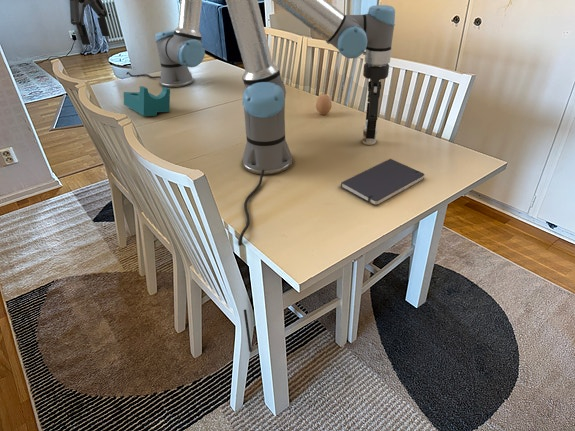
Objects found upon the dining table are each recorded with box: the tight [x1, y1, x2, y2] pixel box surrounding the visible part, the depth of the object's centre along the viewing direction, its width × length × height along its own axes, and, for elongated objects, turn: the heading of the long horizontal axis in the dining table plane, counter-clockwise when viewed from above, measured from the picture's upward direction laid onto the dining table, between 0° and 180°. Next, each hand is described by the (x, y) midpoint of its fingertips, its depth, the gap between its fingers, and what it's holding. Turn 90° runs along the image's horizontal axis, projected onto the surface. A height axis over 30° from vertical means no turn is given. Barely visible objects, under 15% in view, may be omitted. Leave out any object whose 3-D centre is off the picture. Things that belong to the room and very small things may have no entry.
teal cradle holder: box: [123, 85, 171, 117], centre depth 163 cm, size 18×11×10 cm, turn 43°
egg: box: [315, 93, 333, 116], centre depth 155 cm, size 6×6×8 cm
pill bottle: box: [362, 119, 378, 146], centre depth 134 cm, size 4×4×8 cm
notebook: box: [340, 158, 425, 206], centre depth 114 cm, size 13×2×21 cm
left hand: (96, 40), depth 151 cm, fingers open, 13 cm apart
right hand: (369, 129), depth 134 cm, fingers open, 13 cm apart
